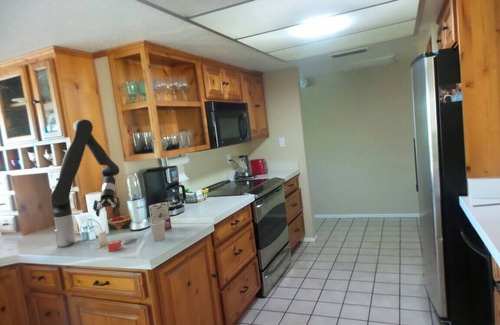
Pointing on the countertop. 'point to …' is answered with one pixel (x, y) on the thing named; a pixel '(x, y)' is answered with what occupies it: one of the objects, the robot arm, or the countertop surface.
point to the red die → (114, 245)
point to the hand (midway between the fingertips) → (105, 214)
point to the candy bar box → (160, 213)
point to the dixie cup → (158, 230)
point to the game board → (127, 242)
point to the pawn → (102, 238)
